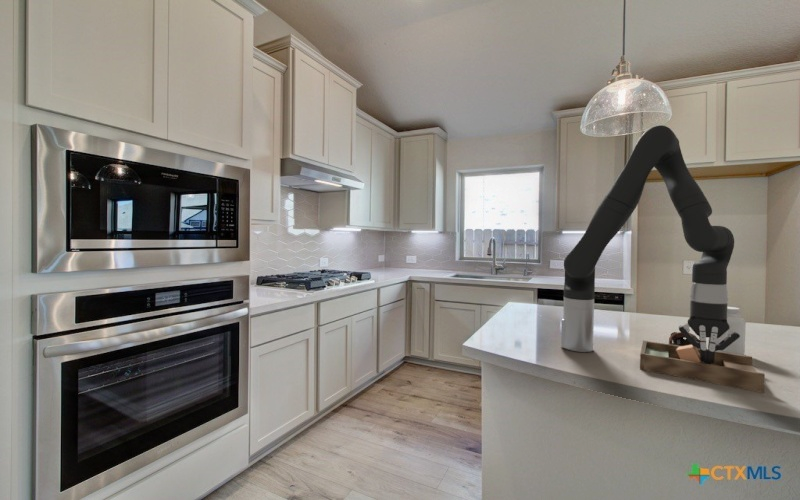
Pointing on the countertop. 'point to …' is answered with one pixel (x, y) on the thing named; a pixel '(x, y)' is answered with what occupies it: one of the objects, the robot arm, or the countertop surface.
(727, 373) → the box
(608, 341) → the countertop surface
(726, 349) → the pill bottle
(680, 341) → the pottery mug
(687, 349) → the terracotta block
